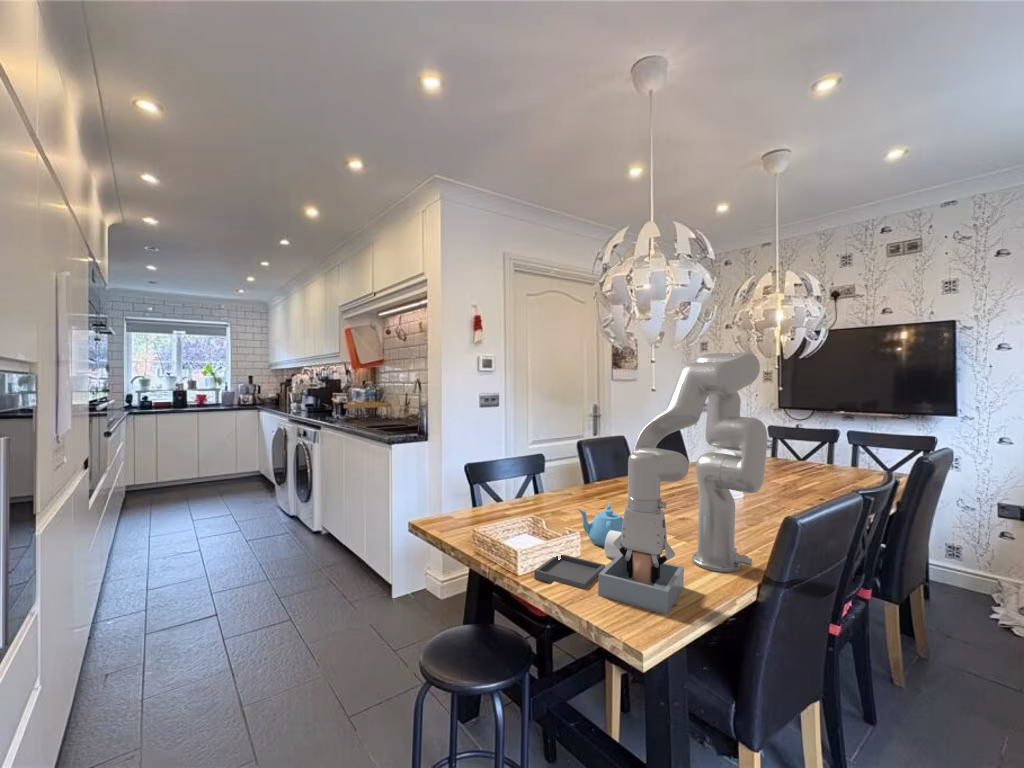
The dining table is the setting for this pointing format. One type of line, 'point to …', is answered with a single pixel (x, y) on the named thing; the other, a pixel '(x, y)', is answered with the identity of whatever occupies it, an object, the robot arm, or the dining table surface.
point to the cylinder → (642, 568)
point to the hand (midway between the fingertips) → (642, 577)
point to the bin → (641, 586)
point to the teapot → (602, 525)
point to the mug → (610, 548)
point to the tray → (569, 571)
